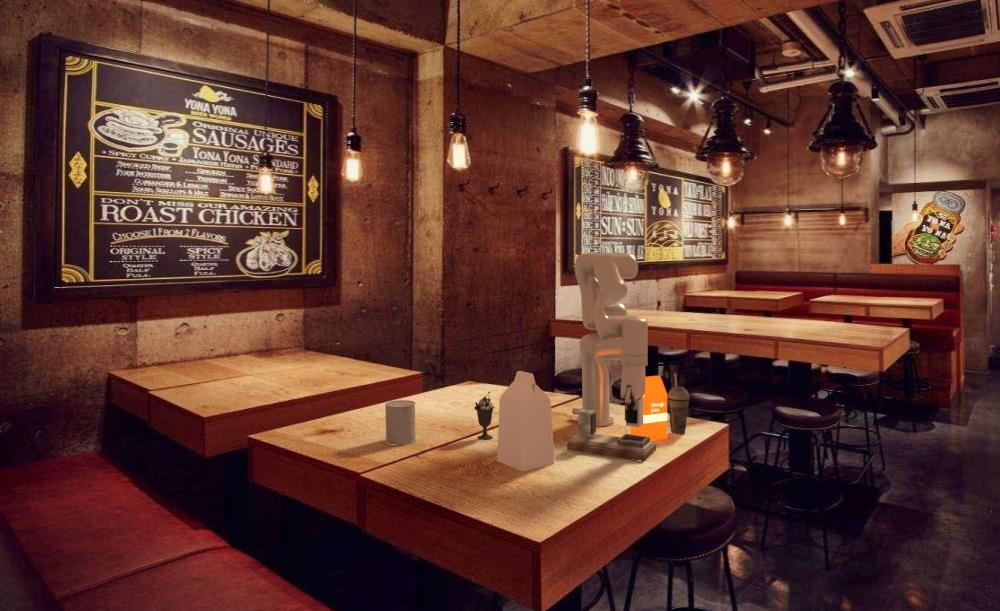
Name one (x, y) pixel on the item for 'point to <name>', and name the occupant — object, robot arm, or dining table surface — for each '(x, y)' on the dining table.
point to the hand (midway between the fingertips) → (634, 420)
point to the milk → (525, 425)
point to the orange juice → (653, 410)
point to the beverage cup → (678, 408)
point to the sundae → (484, 416)
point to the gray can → (400, 422)
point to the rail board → (608, 441)
